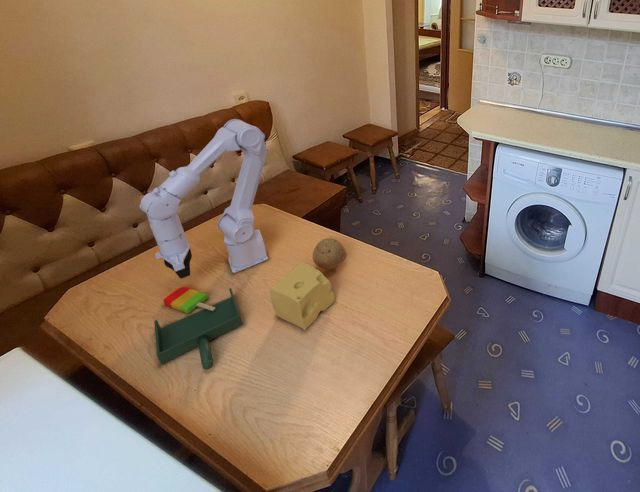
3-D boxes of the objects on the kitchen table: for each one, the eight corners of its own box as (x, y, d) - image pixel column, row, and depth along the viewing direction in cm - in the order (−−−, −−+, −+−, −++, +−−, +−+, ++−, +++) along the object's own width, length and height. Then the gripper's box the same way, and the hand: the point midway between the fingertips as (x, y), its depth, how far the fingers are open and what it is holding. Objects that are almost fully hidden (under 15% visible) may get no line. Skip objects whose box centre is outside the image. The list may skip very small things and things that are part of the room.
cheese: (335, 301, 96) (331, 273, 92) (303, 333, 87) (296, 303, 83) (307, 288, 100) (301, 260, 96) (274, 317, 91) (266, 288, 87)
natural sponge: (309, 267, 107) (303, 240, 103) (335, 252, 114) (331, 226, 110) (324, 282, 102) (319, 255, 98) (351, 266, 108) (348, 239, 104)
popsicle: (183, 290, 98) (181, 284, 98) (225, 303, 94) (223, 298, 93) (162, 305, 94) (160, 300, 93) (205, 320, 89) (203, 315, 89)
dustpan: (158, 330, 87) (154, 320, 86) (233, 296, 97) (231, 287, 95) (164, 398, 73) (159, 388, 72) (251, 351, 83) (248, 341, 81)
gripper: (148, 227, 93) (164, 267, 99) (150, 257, 83) (168, 299, 89) (181, 217, 98) (195, 256, 103) (187, 244, 88) (202, 286, 93)
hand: (185, 275), depth 96 cm, fingers closed
